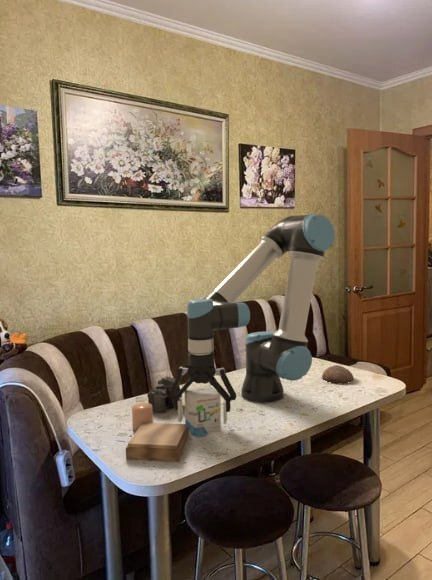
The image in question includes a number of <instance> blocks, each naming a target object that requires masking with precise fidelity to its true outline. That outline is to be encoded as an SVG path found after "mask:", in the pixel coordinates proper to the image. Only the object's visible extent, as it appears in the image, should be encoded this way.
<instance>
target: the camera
mask: <svg viewBox="0 0 432 580" xmlns="http://www.w3.org/2000/svg"><path fill="white" fill-rule="evenodd" d="M175 380H176V378H174V377H171V376H168V375H165V376H163V377H161V379H160V380H158V381H157V385H156V386H155V387H154V388H152V389H150V390H149V391H148V393H147V394H146V395H147V396H146V397H147V399H148V400H147V403H150V404H152V412H153V413H155V414H165V413H166V409H167V408H170V407H173V406H175V404H174V399H172V398H168V395H169V393H170V391H171V388H172V386H173V384H174V382H175ZM180 384H181V381H180V382H179V384H178V386H177V388H176V390H175V392H174V393H175V394H177V393H178V392H179V391H180V389H181V387H180ZM180 398H182V399H183V394H182V395H181V396H180Z"/></svg>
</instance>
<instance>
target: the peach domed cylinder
mask: <svg viewBox="0 0 432 580" xmlns="http://www.w3.org/2000/svg"><path fill="white" fill-rule="evenodd" d="M153 413H154V412H152V404H150V403H148V402H139V403H135V404H133V405H132V406H131V414H132V415H131V416H132V421H131V422H132V431H133V432H134V433H136V431H137V430H138V429H139V427H140V426H141V424H142V423H154V422H153V421H154V419H153V416H154V415H153Z"/></svg>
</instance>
